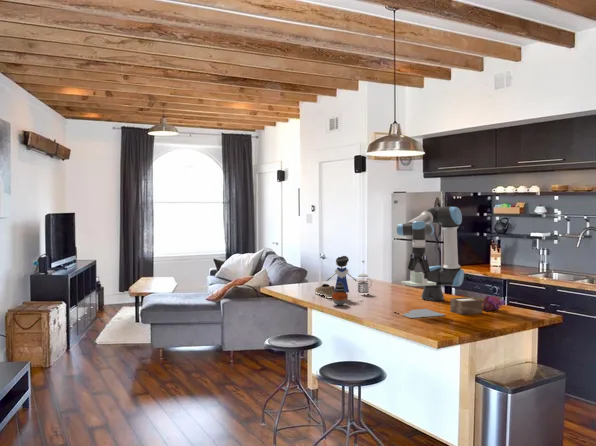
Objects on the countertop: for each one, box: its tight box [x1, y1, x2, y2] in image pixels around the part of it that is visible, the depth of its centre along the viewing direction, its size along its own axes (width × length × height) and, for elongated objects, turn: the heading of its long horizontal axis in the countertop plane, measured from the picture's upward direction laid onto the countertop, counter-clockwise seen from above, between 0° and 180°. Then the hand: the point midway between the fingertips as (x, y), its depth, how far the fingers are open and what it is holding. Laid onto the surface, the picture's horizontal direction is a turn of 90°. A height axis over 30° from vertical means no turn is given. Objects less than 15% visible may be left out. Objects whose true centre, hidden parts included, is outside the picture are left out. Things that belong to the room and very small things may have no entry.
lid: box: [400, 271, 436, 287], centre depth 306 cm, size 12×16×7 cm
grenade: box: [331, 282, 349, 306], centre depth 335 cm, size 11×10×15 cm
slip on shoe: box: [314, 283, 335, 297], centre depth 374 cm, size 30×11×9 cm, turn 12°
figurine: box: [325, 255, 359, 293], centre depth 361 cm, size 23×9×30 cm, turn 84°
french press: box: [357, 260, 373, 293], centre depth 378 cm, size 10×12×25 cm
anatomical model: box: [482, 294, 506, 312], centre depth 320 cm, size 12×10×15 cm
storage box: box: [449, 296, 484, 316], centre depth 312 cm, size 11×15×8 cm
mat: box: [402, 308, 446, 319], centre depth 307 cm, size 20×24×1 cm
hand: (418, 282), depth 306 cm, fingers closed on lid, 12 cm apart
